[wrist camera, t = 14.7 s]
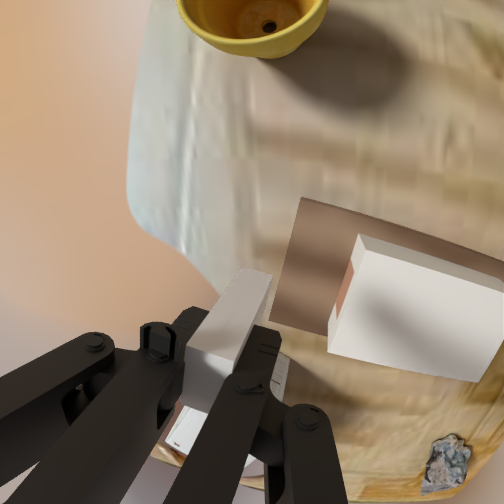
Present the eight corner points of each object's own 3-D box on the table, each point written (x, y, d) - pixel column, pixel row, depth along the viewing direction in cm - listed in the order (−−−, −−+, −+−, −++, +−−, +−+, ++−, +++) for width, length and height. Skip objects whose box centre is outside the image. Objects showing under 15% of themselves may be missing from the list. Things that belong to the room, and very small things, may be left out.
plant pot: (320, 87, 25) (318, 54, 16) (208, 73, 27) (160, 43, 17) (333, -7, 22) (335, -64, 13) (227, -15, 23) (192, -66, 14)
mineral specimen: (450, 426, 38) (396, 450, 37) (476, 422, 31) (416, 452, 31) (461, 475, 32) (408, 502, 32) (487, 478, 26) (428, 511, 25)
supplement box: (258, 396, 36) (232, 479, 24) (205, 365, 36) (161, 442, 24) (293, 357, 33) (275, 447, 21) (234, 322, 33) (191, 402, 22)
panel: (358, 233, 27) (365, 249, 22) (499, 279, 24) (523, 299, 20) (327, 322, 30) (327, 352, 25) (462, 354, 27) (478, 382, 23)
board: (301, 196, 28) (298, 203, 24) (513, 265, 25) (534, 281, 21) (270, 313, 32) (262, 336, 28) (468, 360, 29) (481, 384, 25)
